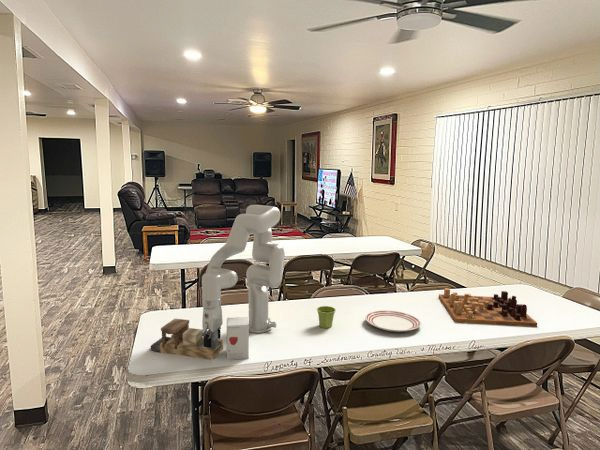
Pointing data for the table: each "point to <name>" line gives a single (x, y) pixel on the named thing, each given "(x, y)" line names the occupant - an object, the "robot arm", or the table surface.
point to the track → (176, 342)
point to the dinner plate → (393, 320)
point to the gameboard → (486, 309)
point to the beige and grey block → (199, 338)
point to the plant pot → (326, 316)
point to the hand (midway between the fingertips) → (212, 342)
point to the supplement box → (237, 338)
